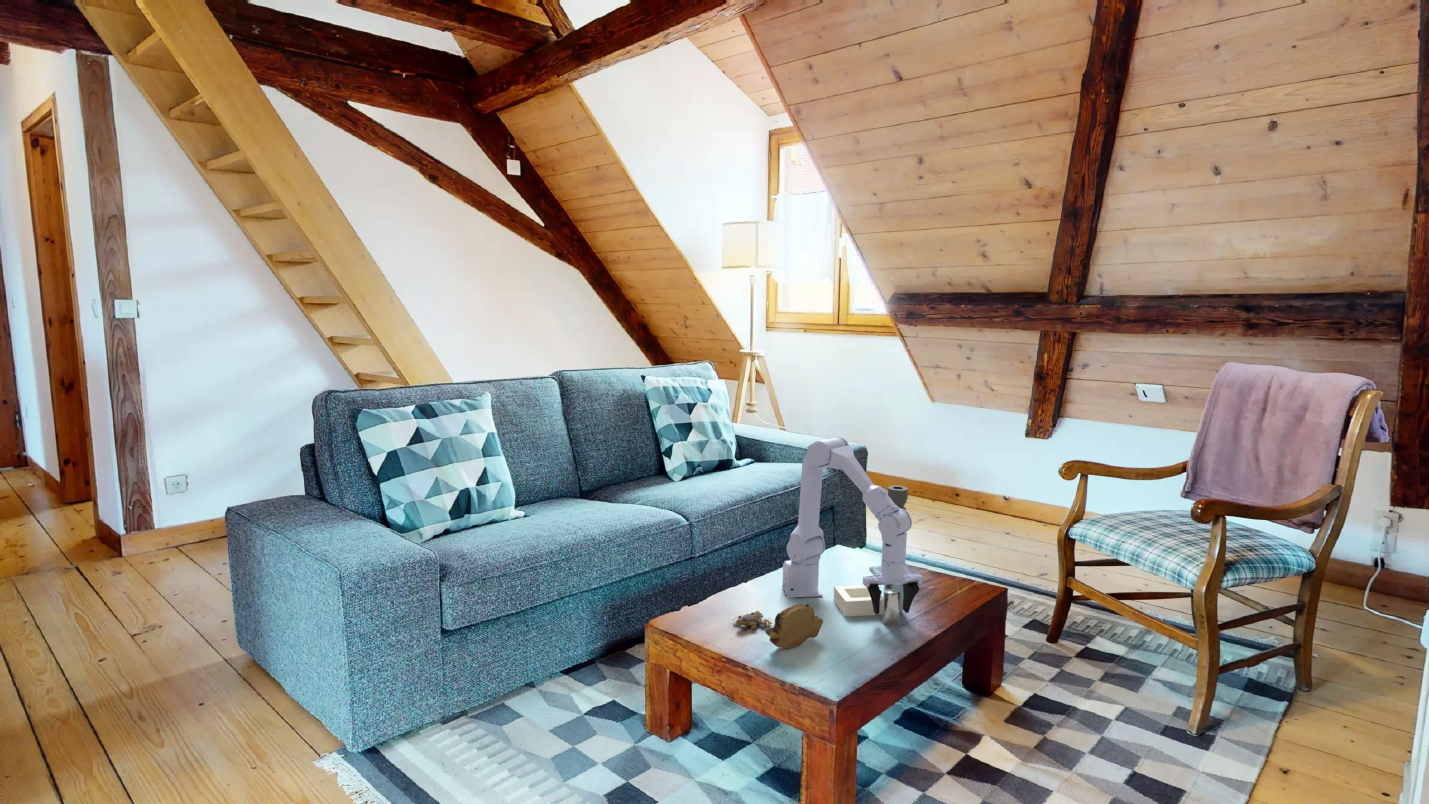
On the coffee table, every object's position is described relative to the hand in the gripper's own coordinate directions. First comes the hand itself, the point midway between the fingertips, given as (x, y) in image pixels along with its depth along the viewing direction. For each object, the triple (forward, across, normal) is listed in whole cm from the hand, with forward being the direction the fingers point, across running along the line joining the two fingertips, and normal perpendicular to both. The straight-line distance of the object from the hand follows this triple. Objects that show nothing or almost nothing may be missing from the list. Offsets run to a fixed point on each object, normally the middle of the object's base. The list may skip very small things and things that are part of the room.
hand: (891, 612), depth 200 cm
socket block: (+3, -5, +10) cm, 12 cm away
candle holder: (+3, +14, +34) cm, 37 cm away
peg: (+3, 0, 0) cm, 3 cm away
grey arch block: (+3, +2, +10) cm, 11 cm away
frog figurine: (+3, -34, +3) cm, 35 cm away
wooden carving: (+3, -27, -9) cm, 29 cm away
